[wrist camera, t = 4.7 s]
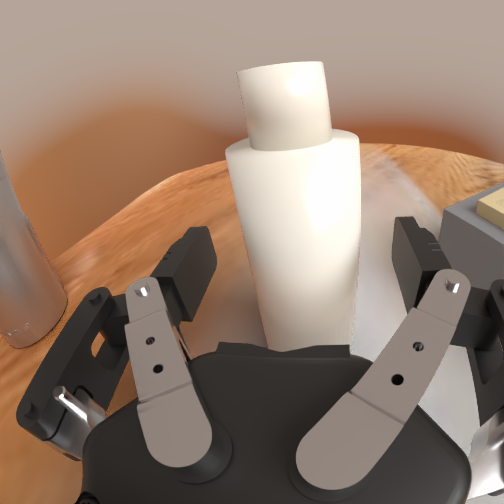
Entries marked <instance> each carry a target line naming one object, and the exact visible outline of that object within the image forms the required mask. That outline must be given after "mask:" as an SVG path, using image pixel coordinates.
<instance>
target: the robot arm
mask: <svg viewBox="0 0 504 504" xmlns="http://www.w3.org/2000/svg"><path fill="white" fill-rule="evenodd" d="M166 253H167V254H165V255H164V257H163V258H162V260H161V261H160V262H159V264H158V265H157V267H156V268H155V270H154V271H153V272H152V274H151V275H150V277H144V278H141V279H139V280H137V281H135V282H133V283H132V284H131V285H130V286H129V287H128V288H127V290H126V294H121V295H117V296H112V295H111V293H110V291H109V289H108V288H105V287H100V288H96V289H94V290H92V291H91V292H89V293H88V294H87V295H86V296H85V297H84V299H83V300H82V301H81V303H80V304H79V306H78V307H77V309H76V310H75V311H74V313H73V314H72V316H71V317H70V319H69V320H68V322H67V323H66V325H65V326H64V328H63V329H62V331H61V332H60V334H59V336H58V337H57V339H56V340H55V342H54V343H53V345H52V347H51V348H50V350H49V351H48V353H47V355H46V356H45V358H44V360H43V361H42V363H41V365H40V367H39V368H38V370H37V372H36V374H35V375H34V377H33V379H32V381H31V383H30V384H29V386H28V388H27V390H26V392H25V394H24V396H23V398H22V399H21V401H20V403H19V405H18V408H17V412H16V418H17V422H18V424H19V425H20V426H21V427H22V428H24V429H25V430H27V431H28V432H29V433H31V434H32V435H34V436H35V437H36V438H37V439H38V440H39V441H41V442H42V443H44V444H45V445H47V446H49V447H50V448H52V449H53V450H55V451H57V452H58V453H62V454H63V455H65V456H67V457H69V458H70V459H72V460H74V461H81V460H82V464H83V480H82V489H81V493H80V496H79V498H78V500H77V501H76V503H75V504H465V502H466V501H467V500H470V499H473V498H477V497H480V496H483V495H486V494H488V495H491V496H497V495H500V494H502V493H504V279H497V280H495V281H493V282H492V284H491V286H490V289H489V290H486V289H480V288H475V287H471V284H470V281H469V280H468V278H467V277H466V276H465V275H464V274H462V273H461V272H459V271H456V270H453V269H452V267H451V265H450V263H449V262H448V260H447V258H446V256H445V254H444V252H443V251H442V250H441V247H440V245H439V244H438V242H437V240H436V238H435V237H434V235H433V234H432V233H431V232H429V231H428V230H427V229H425V228H420V227H419V226H418V224H417V222H416V220H415V219H414V217H396V218H395V223H394V234H393V244H392V262H393V266H394V269H395V272H396V275H397V279H398V282H399V285H400V289H401V292H402V296H403V300H404V303H405V307H406V311H407V316H406V317H405V319H404V321H403V322H402V324H401V325H400V327H399V328H398V330H397V331H396V332H395V334H394V335H393V337H392V338H391V340H390V341H389V343H388V344H387V345H386V347H385V348H384V349H383V351H382V352H381V354H380V355H379V356H378V358H377V359H376V360H375V362H374V363H373V362H371V361H370V360H368V359H365V358H363V357H360V356H356V355H352V354H350V345H349V344H346V345H315V346H310V347H305V348H300V349H295V350H290V351H285V352H279V351H275V350H271V349H267V348H263V347H259V346H256V345H252V344H243V343H226V342H219V344H218V347H217V350H216V351H215V352H210V353H206V354H203V355H200V356H198V357H196V358H194V359H193V357H192V354H191V352H190V350H189V347H188V345H187V343H186V340H185V338H184V335H183V333H182V330H181V328H180V326H179V325H180V322H181V321H188V322H192V321H193V318H194V316H195V314H196V312H197V309H198V307H199V305H200V303H201V300H202V298H203V296H204V294H205V292H206V289H207V287H208V285H209V283H210V281H211V278H212V276H213V274H214V272H215V270H216V266H217V257H216V253H215V249H214V246H213V243H212V239H211V236H210V232H209V229H208V228H207V227H206V226H200V227H190V228H189V229H188V230H187V231H186V233H185V234H184V236H183V237H182V239H179V240H178V241H176V242H175V243H174V244H173V245H171V247H170V248H169V250H168V251H167V252H166ZM62 288H63V284H62V282H61V280H60V279H59V277H58V275H57V273H56V272H55V270H54V268H53V266H52V264H51V263H50V261H49V259H48V257H47V255H46V254H45V252H44V249H43V248H42V246H41V244H40V242H39V240H38V238H37V236H36V233H35V231H34V229H33V227H32V225H31V223H30V221H29V218H28V217H27V215H24V214H23V212H22V209H21V207H20V205H19V202H18V200H17V197H16V195H15V192H14V190H13V187H12V184H11V182H10V179H9V176H8V173H7V170H6V167H5V165H4V161H3V158H2V155H1V152H0V333H1V334H2V335H3V336H4V338H5V339H6V340H7V341H8V342H9V344H10V345H11V346H13V347H15V348H23V347H27V346H30V345H32V344H34V343H35V342H37V341H39V340H40V339H41V338H42V337H44V336H45V335H46V334H47V333H48V332H49V331H50V330H51V329H52V328H53V327H54V326H55V325H56V323H57V322H58V321H59V319H60V317H61V316H62V314H63V312H64V310H65V307H66V304H67V296H66V293H65V292H64V290H63V289H62ZM98 332H100V333H101V335H102V336H103V337H104V339H105V341H104V342H103V344H102V346H101V348H100V350H99V352H98V353H97V355H96V357H94V356H93V355H92V352H91V345H92V343H93V341H94V339H95V337H96V336H97V334H98ZM500 342H501V344H500ZM449 344H451V345H456V346H462V347H466V349H467V353H468V358H469V362H470V366H471V371H472V376H473V381H474V386H475V392H476V398H477V405H478V412H479V420H480V428H479V429H478V430H477V431H476V432H475V434H474V436H473V439H472V442H471V450H470V455H469V457H468V458H467V456H466V454H465V453H464V451H463V450H462V449H461V448H460V447H459V446H458V445H457V444H456V443H455V442H454V441H453V440H452V439H451V438H450V437H449V436H448V435H447V434H446V433H445V432H444V431H443V430H442V429H441V428H440V427H439V426H438V425H437V423H436V422H435V421H434V420H433V419H432V418H431V417H430V416H429V415H428V414H427V413H426V412H425V411H424V410H423V409H422V408H421V407H420V406H419V405H418V402H419V401H420V399H421V397H422V396H423V394H424V392H425V391H426V389H427V387H428V385H429V383H430V382H431V380H432V378H433V376H434V374H435V372H436V370H437V369H438V367H439V365H440V363H441V361H442V359H443V357H444V354H445V352H446V350H447V348H448V346H449ZM501 345H502V347H501ZM502 348H503V351H502ZM129 358H130V361H131V366H132V371H133V376H134V380H135V385H136V389H137V394H138V397H137V398H136V399H134V400H133V401H131V402H130V403H128V404H127V405H126V406H124V407H123V408H121V409H120V410H118V411H117V412H115V413H114V414H112V415H111V416H109V417H108V418H106V411H107V408H108V406H109V403H110V401H111V399H112V396H113V394H114V392H115V389H116V387H117V385H118V383H119V380H120V378H121V376H122V374H123V371H124V369H125V367H126V365H127V363H128V361H129Z"/></svg>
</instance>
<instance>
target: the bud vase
mask: <svg viewBox="0 0 504 504" xmlns="http://www.w3.org/2000/svg"><path fill="white" fill-rule="evenodd" d="M237 79H238V83H239V89H240V94H241V99H242V104H243V109H244V115H245V120H246V125H247V130H248V135H249V138H247V139H244V140H241V141H239V142H236V143H234V144H233V145H231V146H229V147H228V148H227V149H226V151H225V154H226V159H227V164H228V168H229V173H230V178H231V182H232V187H233V191H234V196H235V200H236V205H237V210H238V214H239V219H240V223H241V228H242V232H243V237H244V241H245V246H246V250H247V255H248V259H249V264H250V268H251V273H252V277H253V282H254V286H255V291H256V295H257V300H258V304H259V309H260V313H261V318H262V322H263V326H264V331H265V335H266V340H267V344H268V349H271V350H275V351H279V352H285V351H290V350H295V349H300V348H305V347H310V346H315V345H346V344H349V345H350V349H351V343H352V336H353V328H354V319H355V310H356V299H357V287H358V274H359V257H360V231H361V177H360V152H359V138H358V136H356V135H355V134H353V133H350V132H347V131H343V130H337V129H332V128H331V118H330V109H329V101H328V93H327V87H326V80H325V73H324V66H323V62H294V63H283V64H274V65H268V66H262V67H256V68H251V69H246V70H243V71H239V72H237Z"/></svg>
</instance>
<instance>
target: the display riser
mask: <svg viewBox="0 0 504 504" xmlns="http://www.w3.org/2000/svg"><path fill="white" fill-rule="evenodd" d="M438 244H439V245H440V247H441V250H442V251H443V252H444V254H445V256H446V258H447V260H448V262H449V263H450V265H451V267H452V269H453V270H456V271H459V272H461V273H462V274H464V275H465V276H466V277H467V278H468V280H469V281H470V284H471V287H475V288H480V289H486V290H489V289H490V286H491V284H492V282H493V281H495V280H497V279H504V182H503V183H500V184H498V185H496V186H494V187H492V188H490V189H487V190H485V191H483V192H481V193H479V194H476V195H474V196H472V197H470V198H467V199H465V200H463V201H461V202H458V203H456V204H454V205H452V206H449V207H447V208H445V209H444V211H443V218H442V224H441V230H440V236H439V241H438Z"/></svg>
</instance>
